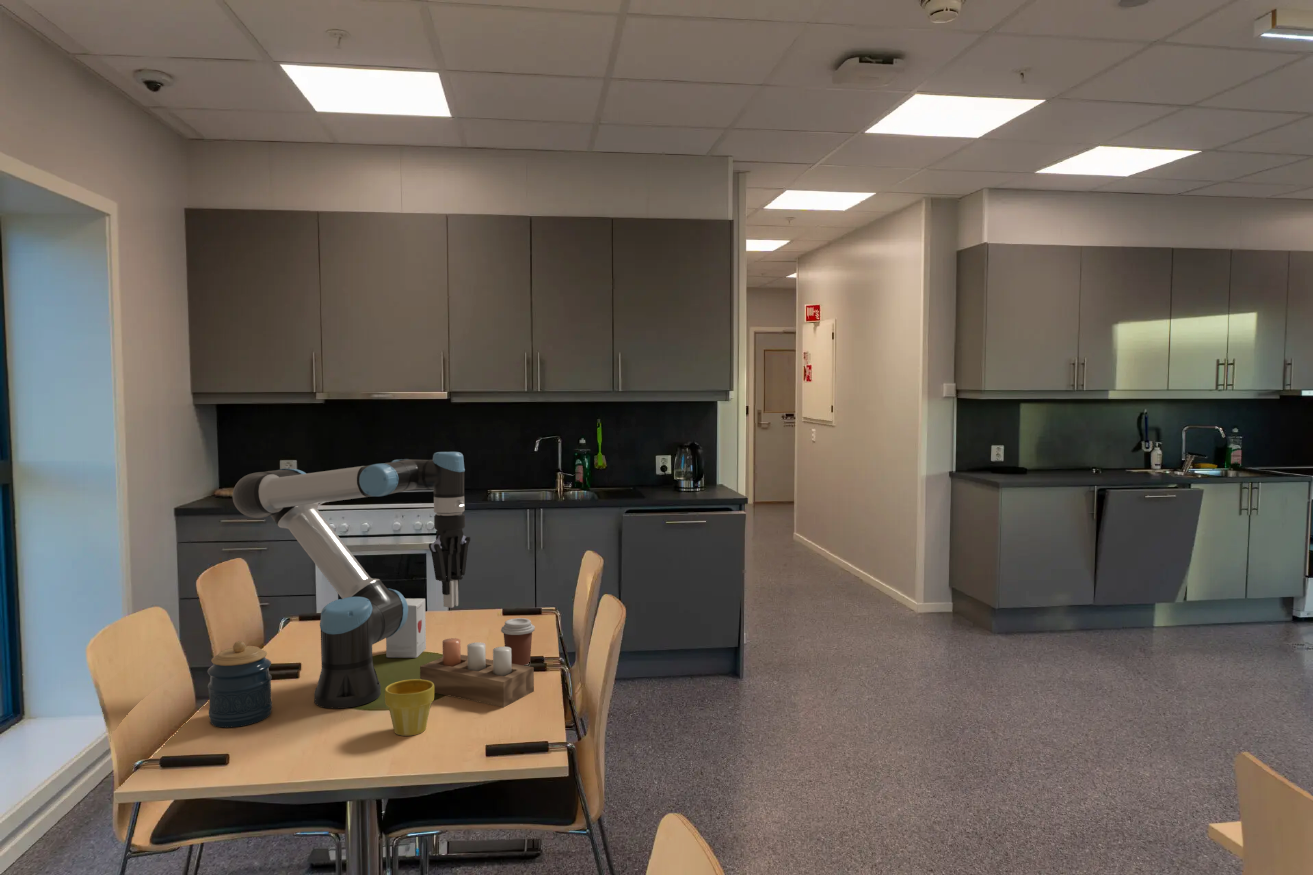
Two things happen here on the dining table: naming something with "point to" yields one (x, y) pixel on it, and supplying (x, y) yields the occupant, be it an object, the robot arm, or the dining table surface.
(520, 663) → the coffee cup
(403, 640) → the supplement box
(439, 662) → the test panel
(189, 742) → the dining table surface
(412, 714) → the plant pot
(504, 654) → the grey plug far
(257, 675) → the canister
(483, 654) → the grey plug mid
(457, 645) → the terracotta plug
